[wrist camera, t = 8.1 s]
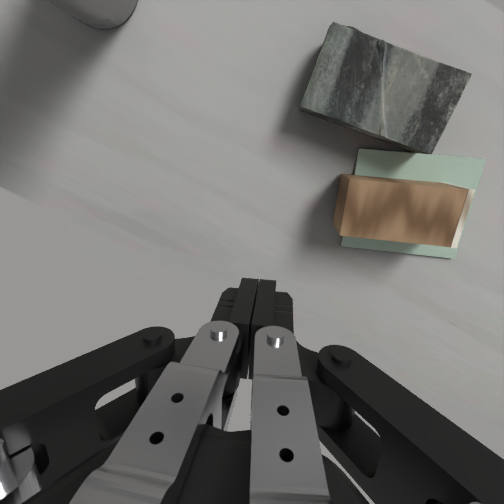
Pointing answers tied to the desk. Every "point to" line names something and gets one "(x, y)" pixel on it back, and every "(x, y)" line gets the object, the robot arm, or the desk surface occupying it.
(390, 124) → the stone block
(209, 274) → the desk surface
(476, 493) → the robot arm
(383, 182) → the walnut block
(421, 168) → the sage mat
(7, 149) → the desk surface
